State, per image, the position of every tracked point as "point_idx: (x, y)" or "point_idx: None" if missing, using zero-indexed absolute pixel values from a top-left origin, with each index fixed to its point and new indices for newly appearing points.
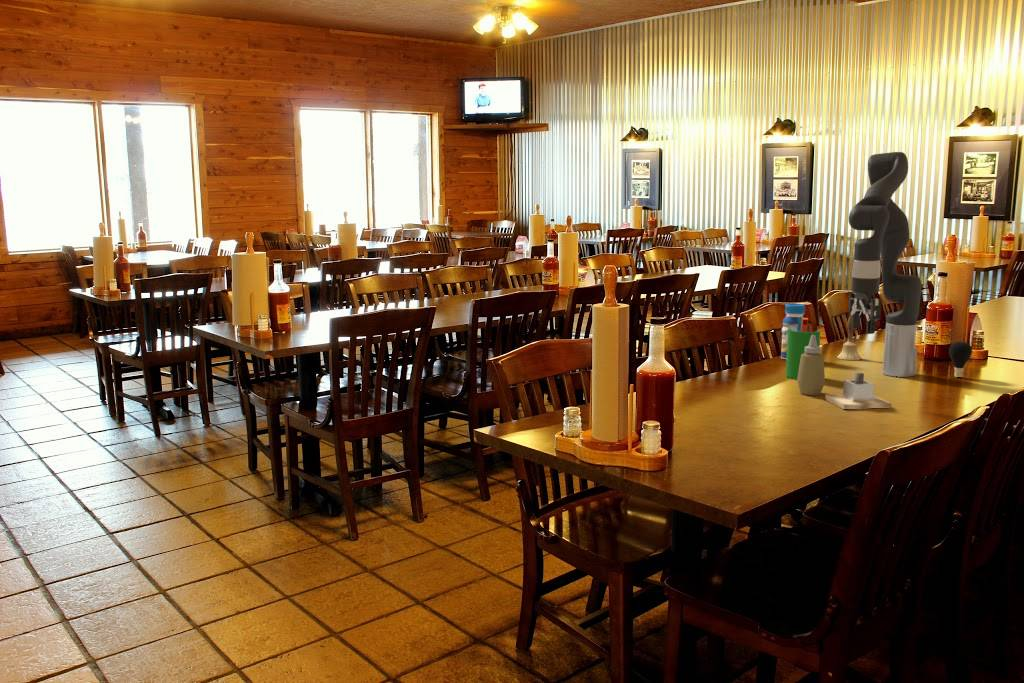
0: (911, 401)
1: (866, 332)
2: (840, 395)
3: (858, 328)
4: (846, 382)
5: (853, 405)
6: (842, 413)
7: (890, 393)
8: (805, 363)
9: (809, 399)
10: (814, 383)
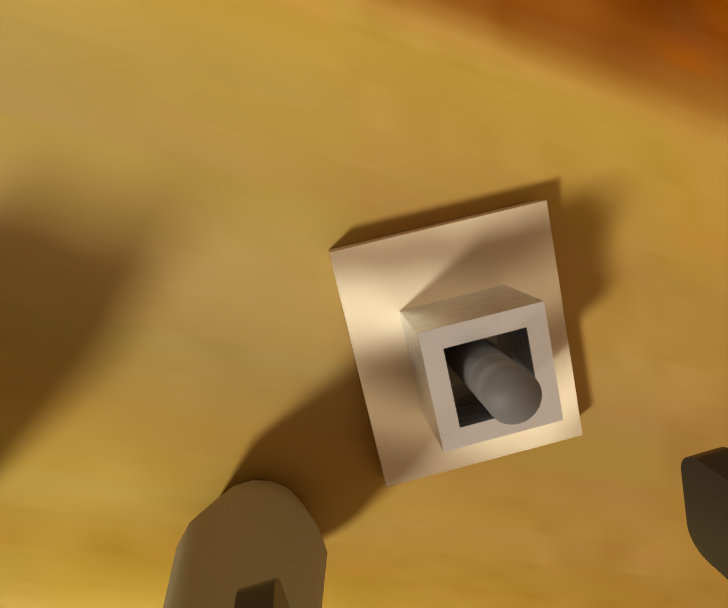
0: (375, 39)
1: (705, 553)
2: (396, 419)
3: (281, 586)
4: (472, 440)
5: (573, 391)
6: (626, 440)
7: (189, 101)
8: None
9: (383, 539)
10: (326, 558)
